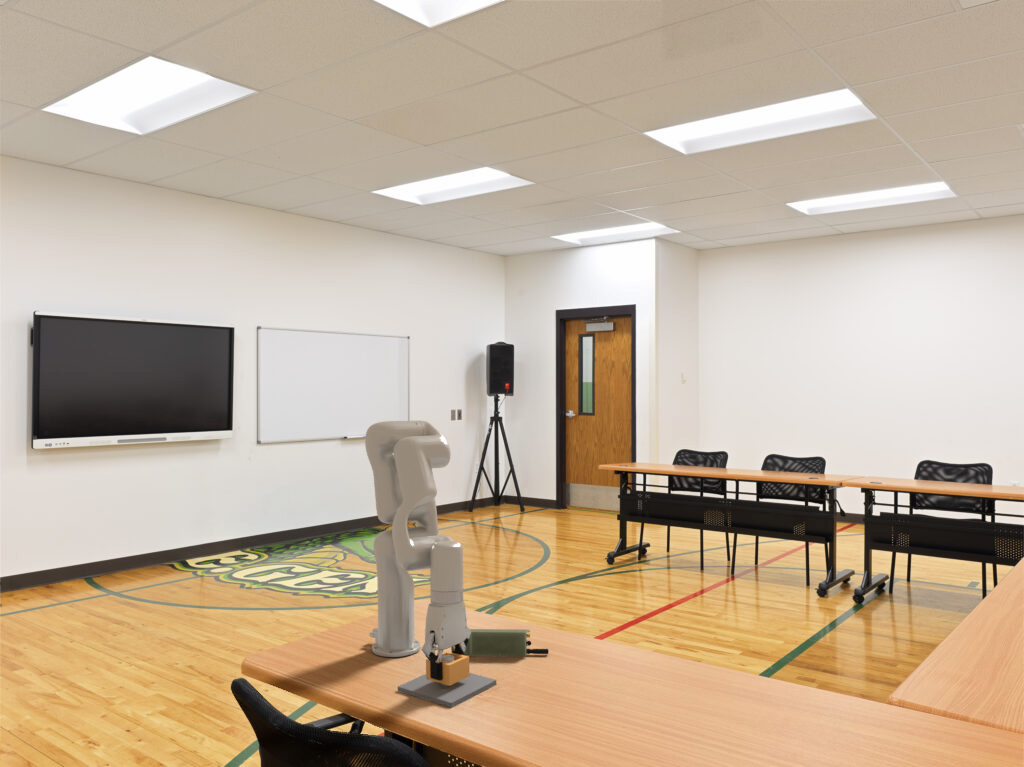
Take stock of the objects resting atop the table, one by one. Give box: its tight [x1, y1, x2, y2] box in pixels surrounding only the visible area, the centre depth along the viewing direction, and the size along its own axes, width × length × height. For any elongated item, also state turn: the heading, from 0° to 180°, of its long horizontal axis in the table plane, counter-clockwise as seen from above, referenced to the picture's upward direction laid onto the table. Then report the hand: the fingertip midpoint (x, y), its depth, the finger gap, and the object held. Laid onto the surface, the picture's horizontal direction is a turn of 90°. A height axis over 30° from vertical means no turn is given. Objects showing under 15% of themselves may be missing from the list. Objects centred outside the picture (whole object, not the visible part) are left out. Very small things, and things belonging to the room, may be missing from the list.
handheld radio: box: [450, 628, 549, 657], centre depth 200 cm, size 7×3×25 cm
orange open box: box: [425, 650, 470, 686], centre depth 178 cm, size 7×7×4 cm
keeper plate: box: [397, 655, 497, 709], centre depth 178 cm, size 16×16×7 cm
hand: (447, 673), depth 178 cm, fingers closed on orange open box, 7 cm apart
